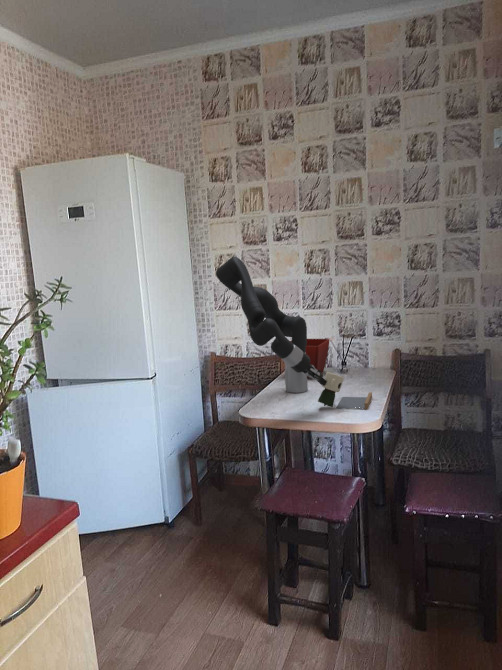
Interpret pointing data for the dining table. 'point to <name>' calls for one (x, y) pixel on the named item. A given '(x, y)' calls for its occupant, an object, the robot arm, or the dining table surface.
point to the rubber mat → (355, 402)
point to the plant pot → (317, 352)
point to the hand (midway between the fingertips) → (324, 383)
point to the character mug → (330, 388)
